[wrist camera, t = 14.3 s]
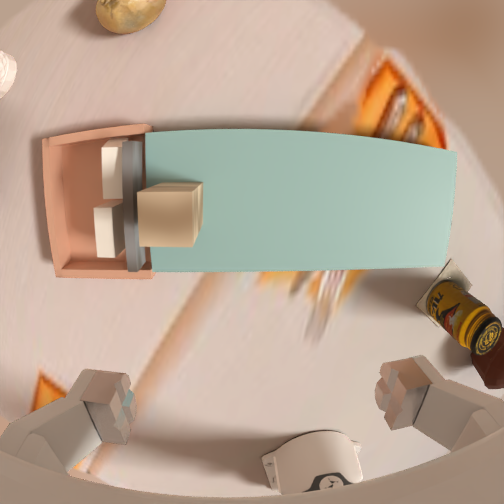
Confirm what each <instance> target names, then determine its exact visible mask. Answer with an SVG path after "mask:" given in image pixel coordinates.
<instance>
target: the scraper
mask: <svg viewBox="0 0 504 504" xmlns="http://www.w3.org/2000/svg"><path fill="white" fill-rule="evenodd" d="M122 193H123V217H124V234H125V247H126V259H127V269H128V272H138V271H139V270H140V268H141V267H142V266H143V264H144V263H145V262H146V259H145V247H193V245H194V243H195V240H196V238H197V236H198V234H199V231H200V229H201V227H202V225H203V182H162V183H159V184H157V185H154V186H152V187H149V188H146V189H144V190H142V142H138V141H123V142H122Z"/></svg>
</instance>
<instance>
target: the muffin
mask: <svg viewBox="0 0 504 504" xmlns="http://www.w3.org/2000/svg"><path fill="white" fill-rule="evenodd" d="M471 357H472V363H473V365H474V367H475V368H476V370H477V371H478V373H479V375H480V376H481V378H482V380H483V381H484V384H485V386H486V387H487V388H488V389H501V388H504V328H503V327H502V330H501V334H500V337H499V340H498V341H497V343H496V344H495V346H494V347H493V348H492V349H491V350H490V351H489V352H487V353H485V354H483V355H475V354H474V353H473V352H472V354H471Z"/></svg>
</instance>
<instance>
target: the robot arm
mask: <svg viewBox="0 0 504 504" xmlns="http://www.w3.org/2000/svg"><path fill="white" fill-rule="evenodd" d="M379 373H380V375H381V376H382V378H381V379H380V380H379V381H378V382H377V384H376V388H375V400H376V403H377V405H378V407H379V409H381V410H383V411H385V412H386V413H385V416H384V418H385V420H386V422H387V424H388V426H389V427H390V429H391V431H392V430H396V429H400V428H404V427H408V426H412V425H413V427H415V428H416V429H418V430H419V431H421V432H422V433H424V434H425V435H427V436H428V437H430V438H431V439H433V440H435V441H436V442H438V443H439V444H441V445H442V446H444V447H446V448H447V449H449V450H450V453H449V454H447V455H444V456H442V457H439V458H437V459H434V460H431V461H429V462H426V463H423V464H420V465H418V466H415V467H412V468H409V469H406V470H403V471H399V472H396V473H393V474H389V475H386V476H382V477H379V478H375V479H371V480H367V481H363V482H361V480H362V478H363V475H362V471H361V468H360V464H359V460H358V457H357V454H358V453H359V451H360V450H361V445H360V443H357V442H353V441H351V440H350V439H349V438H348V437H347V436H346V435H344V434H342V433H339V432H334V431H320V432H313V433H309V434H305V435H302V436H299V437H297V438H294V439H292V440H290V441H288V442H287V443H285V444H284V445H282V446H281V447H280V448H279V449H277V450H276V451H273V452H271V453H268V454H266V455H264V456H262V463H263V465H264V468H265V471H266V474H267V477H268V480H269V483H270V485H271V488H272V490H273V491H274V492H279V493H281V495H275V496H261V497H232V498H222V497H192V496H178V495H167V494H158V493H150V492H143V491H137V490H130V489H125V488H119V487H114V486H109V485H104V484H100V483H95V482H91V481H87V480H83V479H79V478H75V477H72V476H70V475H69V474H68V471H69V470H70V469H72V468H73V467H74V466H75V465H76V464H78V463H79V462H80V461H81V460H82V459H84V458H85V457H86V456H87V455H88V454H90V453H91V452H92V451H93V450H94V449H95V448H97V447H98V446H99V445H100V444H101V443H102V442H109V443H116V444H124V445H126V443H127V440H128V437H129V434H130V431H131V429H130V427H129V424H130V423H131V422H133V421H134V419H135V416H136V407H137V405H136V399H135V395H134V393H133V392H132V391H131V390H130V389H129V388H130V385H131V382H130V378H129V375H127V374H126V373H118V372H109V371H102V370H93V369H84V370H83V371H82V372H81V374H80V375H79V377H78V378H77V380H76V381H75V383H74V385H73V386H72V388H71V389H70V391H69V393H68V394H67V396H66V397H65V398H63V397H61V398H59V399H57V400H55V401H53V402H51V403H49V404H48V405H46V406H44V407H42V408H40V409H38V410H36V411H34V412H32V413H30V414H28V415H26V416H24V417H22V418H20V419H18V420H16V421H14V422H12V423H10V424H9V425H8V426H7V428H6V430H5V431H4V432H3V434H2V435H1V437H0V504H504V401H503V400H502V399H500V398H497V397H494V396H491V395H489V394H486V393H483V392H481V391H478V390H475V389H473V388H470V387H467V386H465V385H462V384H460V383H457V382H454V381H452V380H445V379H444V378H443V377H442V376H441V374H440V373H439V372H438V371H437V370H436V369H435V368H434V366H433V365H432V364H431V363H430V362H429V361H428V360H427V359H426V357H425V356H422V355H419V356H414V357H410V358H407V359H402V360H397V361H391V362H386V363H383V364H382V366H381V369H380V372H379Z"/></svg>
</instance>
